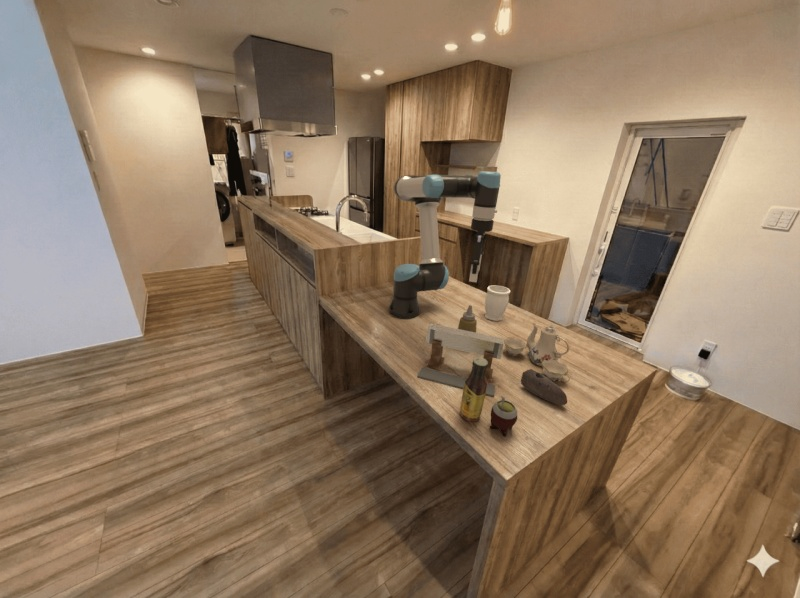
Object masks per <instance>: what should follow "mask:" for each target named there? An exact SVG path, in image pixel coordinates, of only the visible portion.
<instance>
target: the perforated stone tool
mask: <svg viewBox="0 0 800 598" xmlns="http://www.w3.org/2000/svg"><path fill="white" fill-rule="evenodd" d="M520 383H521V386H522V387H524V388H525V389H526V390H528V391H529V392H530V393H532V394H533V395H536V396H537V397H539V398H542V400H546V401H547V402H549V403H551V404H555V405H558V406H565V405H567V404H568V397H567V394H566V393H565V391H564V390H563V389H562V388H561V387H560V386H559V385H558V384H556V383H555V382H554V381H551V380H549V379H548V378H547V376H546V375H545V374H542V373H540V372H538V371H536V370H534V369H531V368H530V369H526V370H524V371H523V372H522V375H521V378H520Z"/></svg>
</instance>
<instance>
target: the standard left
mask: <svg viewBox="0 0 800 598" xmlns="http://www.w3.org/2000/svg"><path fill="white" fill-rule="evenodd" d="M443 351H444V347H443V346H441V342H438V341H432V344H431V350H430V358H429V359H428V362H427V363H426V368H429V369H433V370H437V371H441V369H442V366H443V365H444V362H445V356H443V353H444V352H443Z"/></svg>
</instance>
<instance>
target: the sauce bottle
mask: <svg viewBox="0 0 800 598" xmlns="http://www.w3.org/2000/svg"><path fill="white" fill-rule="evenodd" d="M487 366H488V361H487V360H486V359H484V358H483V357H482V356H477V357H475V358H473V359H472V367H471V371H470V373H469V374H468V376H467V377H466V378H467V379H466V380H465V384H464V389H462V396H461V402H460V407H459V409H460V411H459V414H460V416H461V417H462V418H463V419H464V420H466V421H469V422H477V421H478V420H480V418H481V415H482V411H483V407H484V402H485V398H486V395H485V394H486V387H487V383H488V382H487V379H486V377H485V372H486V368H487Z"/></svg>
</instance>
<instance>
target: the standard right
mask: <svg viewBox="0 0 800 598" xmlns="http://www.w3.org/2000/svg"><path fill="white" fill-rule="evenodd" d="M482 358H484V359H486V360H487V361H488V366H487V368H486V372H485V377H486V379H487V383H492V380H493V374H494V368H492V364H493V359H494V358H493V354H492V353H487V352H484V356H483V357H482Z"/></svg>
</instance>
